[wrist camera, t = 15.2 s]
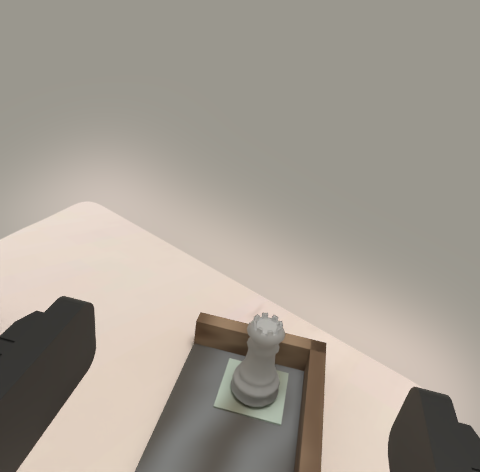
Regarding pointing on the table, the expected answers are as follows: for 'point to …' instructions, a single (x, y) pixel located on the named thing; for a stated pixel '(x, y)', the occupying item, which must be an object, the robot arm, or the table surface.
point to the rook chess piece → (259, 363)
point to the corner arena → (240, 409)
